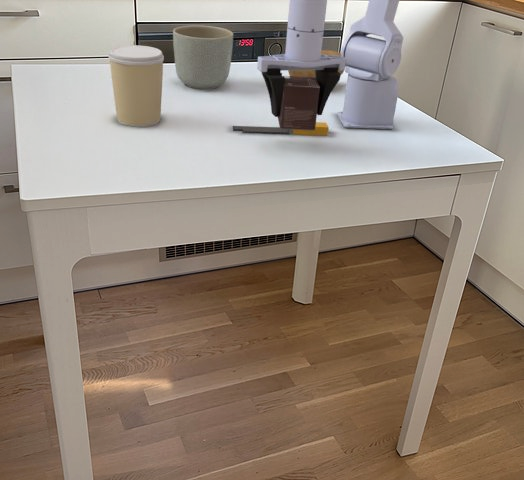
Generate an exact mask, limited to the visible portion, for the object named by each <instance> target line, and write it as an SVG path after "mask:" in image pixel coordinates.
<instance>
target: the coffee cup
mask: <svg viewBox="0 0 524 480" xmlns="http://www.w3.org/2000/svg"><path fill="white" fill-rule="evenodd" d="M108 59H109V67H110V74H111V83H112V91H113V98H114V106H115V114H116V120H117V122H118V123H119V124H121V125H124V126H129V127H138V128H142V127H143V128H145V127H150V126H154V125H157V124H159V122H160V121H161V115H162V114H161V113H162V97H163V95H162V94H163V74H164V60H165V56H164V54H163V51H162V50H161V49H159V48H156V47H153V46H148V45H137V44H130V45H129V44H128V45H119V46H115V47H112V48H111V49H110V50H109V53H108Z"/></svg>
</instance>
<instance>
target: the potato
mask: <svg viewBox="0 0 524 480" xmlns="http://www.w3.org/2000/svg"><path fill="white" fill-rule="evenodd" d="M321 55H333V56H341V52H339V51H336V50H326V49H325V50H324V49H322V50H321ZM287 71H288V76H297V77H316V73H315V70H287ZM338 72H339V73H340V74H341V76H342V75H343V74H344V72H345V70H344V71H339V70H338Z"/></svg>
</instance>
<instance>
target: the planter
mask: <svg viewBox="0 0 524 480" xmlns="http://www.w3.org/2000/svg"><path fill="white" fill-rule="evenodd" d="M172 42H173V43H172V46H173V57H174V58H173V59H174V66H175V72H176V76H177V77H178V79H179V80H180V81H181V82H182V83H183V84H184V85H185V86H187V87H188V88H192V89H197V90H212V89H217V88H219V87H220V86H222V85H223V84H224V83H225V82H226V81H227V80H228V78H229V74H230V71H231V65H232V58H233V57H232V56H233V48H234V47H233V46H234V32H233V31H232V30H230V29H227V28H223V27H219V26H212V25H200V24H199V25H196V24H195V25H194V24H193V25H191V24H190V25H182V26H177V27H175V28H173V30H172Z"/></svg>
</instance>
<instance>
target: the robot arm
mask: <svg viewBox="0 0 524 480" xmlns="http://www.w3.org/2000/svg"><path fill="white" fill-rule="evenodd" d="M399 3H400V0H368V4H367V8H366V12H365V14H364V16H362V17H361V18H359V19H358V20H356V21H355V22H353V23H352V24H350V28H349V31H348V33H347V36H346V38H345V39H344V41H343V44H342V46H341V49H340V53H341V56H333V55H321V50H323V41H324V34H325V33H324V31H325V23H326V14H327V6H328V0H289V3H288V15H287V27H286V40H285V52H284V53H282V54H281V53H280V54H273V55H272V54H271V55H263V56H261V55H260V56H257V64H256V65H257V66H256V69H257V70H258V71H259V72H260V73H261V75H262V77H263V80H264V83H265V85H266V89H267V93H268V96H269V103H270V109H271V114H272V115H273V117H275V118H278V117H279V116H280V111H281V97H282V91H283V86H284V83H285V78H284V77H283V76H284V75H283V72H282V71H288V70H315V73H316V79H317V82H318V84H319V86H320V90H319V98H318V108H317V116H322V115H323V113H324V110H325V106H326V104H327V101H328V99H329V98H330V96H331V94H332V92H333V90H334V89H335V87H336V85H337V84H338V83H339V81H340V80H341V76H342V75H341V74H340V73H339V72H338V70H339V71H344V72H345V73H346V74H347V78H346V79H347V81H346V87H345V95H344V102H343V108H342V111H337V112H336V116H337V117H338V119H339V120H340V122H341V124H342V125H343V127H344V128H348V129H349V128H352V129H377V130H379V129H382V130H393V129H394V125H393V124H394V119H395V113H396V108H397V103H398V97H399V81H398V78H397V77H396V76H394V74H395V73H396V72H397V70H398V68H399V67H400V64H401V60H402V47H403V42H404V35H403V34H402V32H401V31H400V29H399V28H398V27H397V25H396V24H395V22H394V21H395V17H396V15H397V12H398V11H397V10H398V7H399ZM369 35H373V36H378V37H381V38H383V39H381V38H377V37H372V36H369Z"/></svg>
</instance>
